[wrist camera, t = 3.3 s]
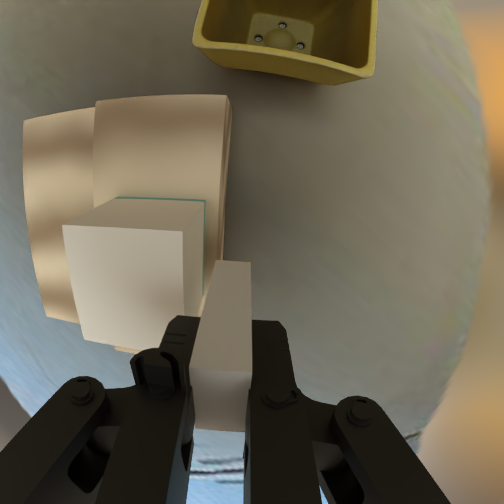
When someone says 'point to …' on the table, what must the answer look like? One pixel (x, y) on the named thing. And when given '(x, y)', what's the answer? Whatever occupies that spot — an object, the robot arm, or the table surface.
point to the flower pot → (291, 37)
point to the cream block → (136, 267)
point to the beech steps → (122, 174)
